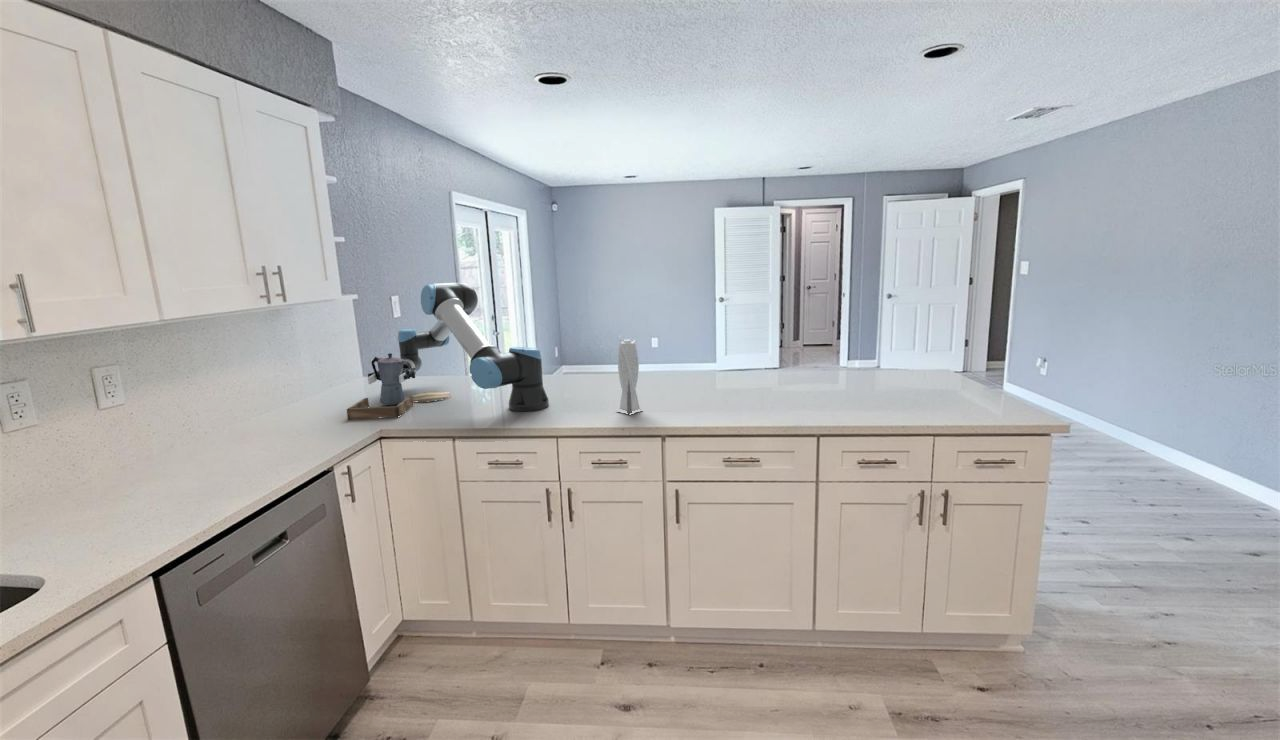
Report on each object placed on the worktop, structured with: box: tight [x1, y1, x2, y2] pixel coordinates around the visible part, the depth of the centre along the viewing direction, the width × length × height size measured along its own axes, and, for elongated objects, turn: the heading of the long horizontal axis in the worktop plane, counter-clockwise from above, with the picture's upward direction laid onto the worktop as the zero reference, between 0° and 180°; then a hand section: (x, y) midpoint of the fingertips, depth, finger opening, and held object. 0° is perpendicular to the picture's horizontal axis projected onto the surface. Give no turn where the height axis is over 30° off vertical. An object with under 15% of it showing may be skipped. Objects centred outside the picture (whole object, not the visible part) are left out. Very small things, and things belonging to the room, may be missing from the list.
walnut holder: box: [346, 395, 415, 421], centre depth 215 cm, size 17×18×4 cm
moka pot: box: [371, 353, 405, 406], centre depth 224 cm, size 10×15×20 cm, turn 79°
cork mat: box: [412, 390, 452, 402], centre depth 236 cm, size 16×16×1 cm
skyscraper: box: [617, 335, 641, 414], centre depth 205 cm, size 8×8×28 cm
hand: (384, 380), depth 220 cm, fingers closed on moka pot, 11 cm apart
